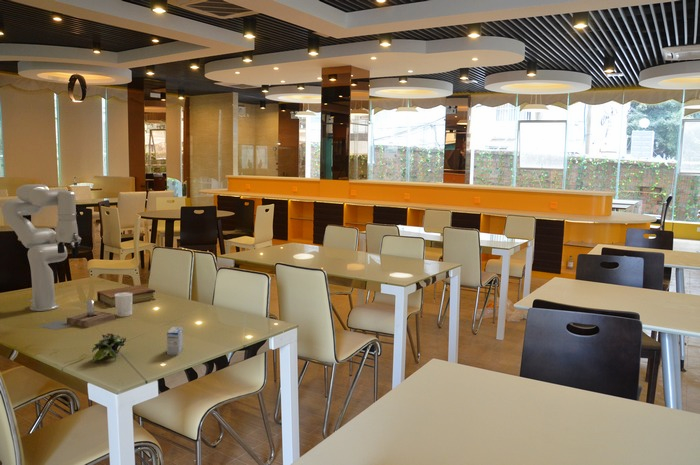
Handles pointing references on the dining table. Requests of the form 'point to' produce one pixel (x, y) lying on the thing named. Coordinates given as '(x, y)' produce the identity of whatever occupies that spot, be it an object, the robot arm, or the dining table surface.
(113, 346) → the green leafy plant
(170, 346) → the medicine box
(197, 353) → the dining table surface
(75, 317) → the hole block
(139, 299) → the diary
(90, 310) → the peg
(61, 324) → the mat
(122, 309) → the white cup
